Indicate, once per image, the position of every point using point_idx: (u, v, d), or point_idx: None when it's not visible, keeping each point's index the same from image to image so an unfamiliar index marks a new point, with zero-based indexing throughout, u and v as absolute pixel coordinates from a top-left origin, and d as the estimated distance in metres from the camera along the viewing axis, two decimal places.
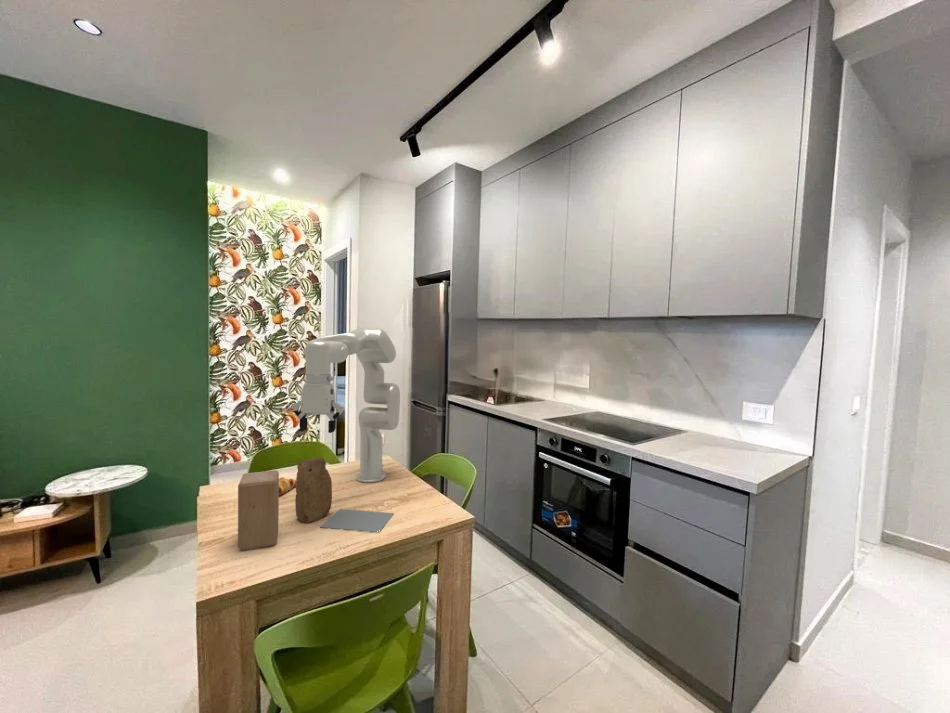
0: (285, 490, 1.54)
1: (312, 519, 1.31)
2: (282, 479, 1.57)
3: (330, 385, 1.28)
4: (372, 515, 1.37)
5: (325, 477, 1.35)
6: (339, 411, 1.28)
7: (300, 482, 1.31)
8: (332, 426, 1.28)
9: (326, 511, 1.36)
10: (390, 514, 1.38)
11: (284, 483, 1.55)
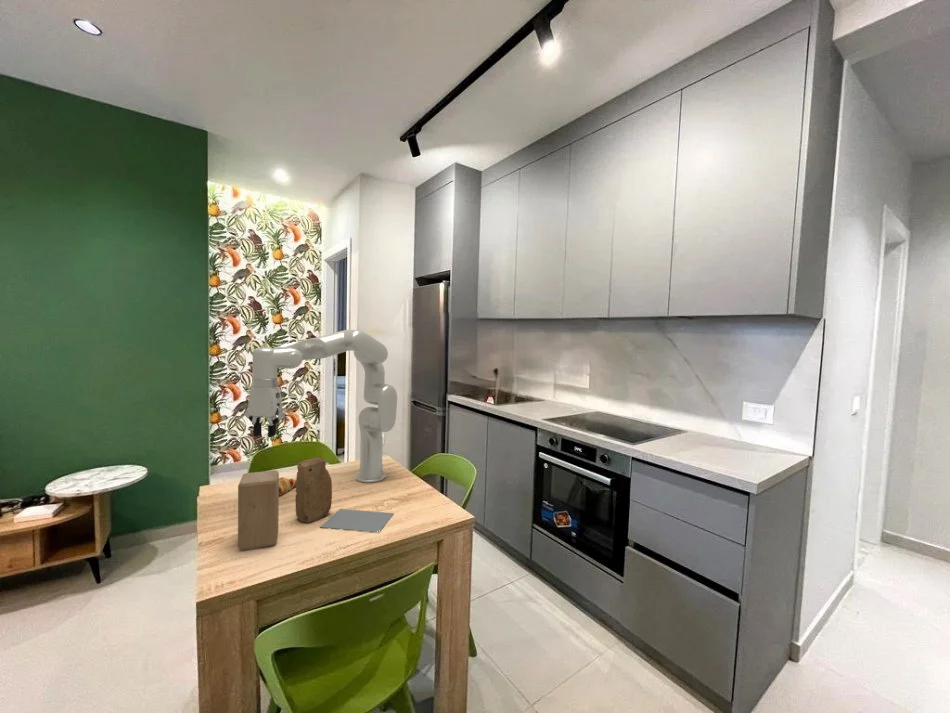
0: (285, 490, 1.54)
1: (312, 519, 1.31)
2: (282, 479, 1.57)
3: (276, 389, 1.35)
4: (372, 515, 1.37)
5: (325, 477, 1.35)
6: (279, 418, 1.35)
7: (300, 482, 1.31)
8: (272, 431, 1.36)
9: (326, 511, 1.36)
10: (390, 514, 1.38)
11: (284, 483, 1.55)
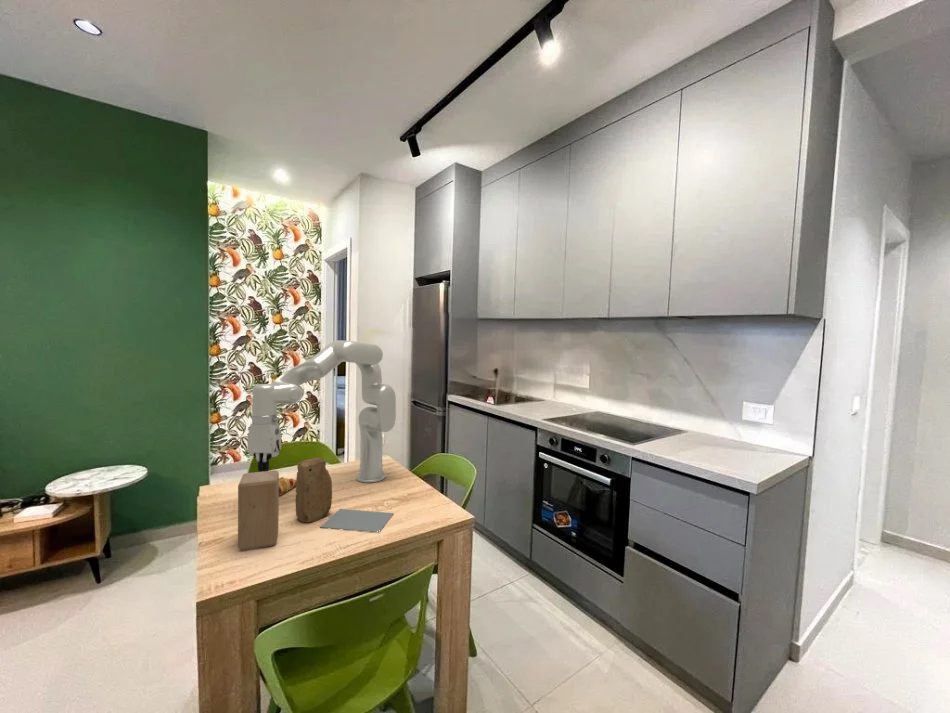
0: (285, 490, 1.55)
1: (312, 519, 1.31)
2: (282, 479, 1.57)
3: (275, 425, 1.36)
4: (372, 515, 1.37)
5: (325, 477, 1.35)
6: (272, 455, 1.36)
7: (300, 482, 1.31)
8: (264, 467, 1.36)
9: (326, 511, 1.36)
10: (390, 514, 1.38)
11: (284, 483, 1.55)
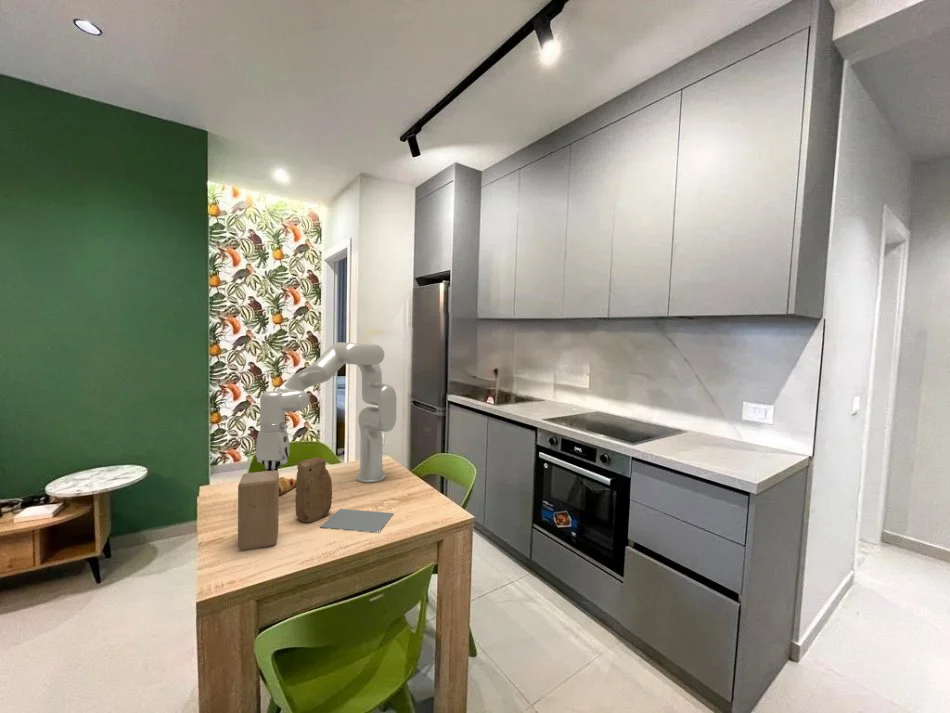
0: (285, 490, 1.55)
1: (312, 519, 1.31)
2: (282, 479, 1.57)
3: (283, 433, 1.36)
4: (372, 515, 1.37)
5: (325, 477, 1.35)
6: (281, 463, 1.36)
7: (300, 482, 1.31)
8: None
9: (326, 511, 1.36)
10: (390, 514, 1.38)
11: (284, 483, 1.55)
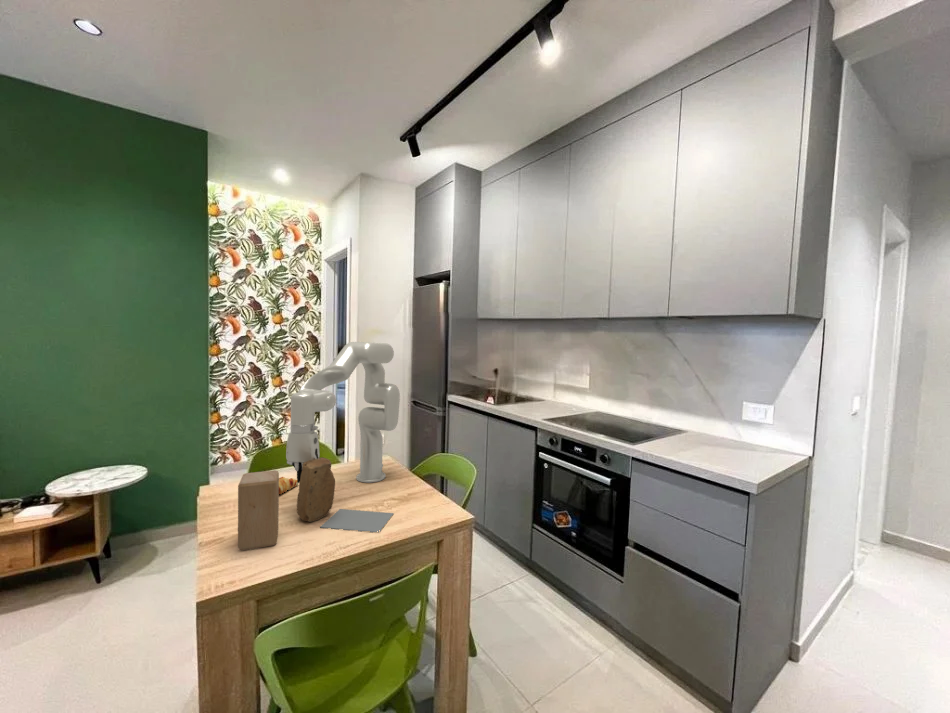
0: (284, 490, 1.55)
1: (312, 519, 1.31)
2: (282, 479, 1.57)
3: (314, 434, 1.34)
4: (372, 515, 1.37)
5: (329, 479, 1.33)
6: None
7: (304, 482, 1.30)
8: None
9: (327, 511, 1.36)
10: (390, 514, 1.38)
11: (283, 483, 1.55)
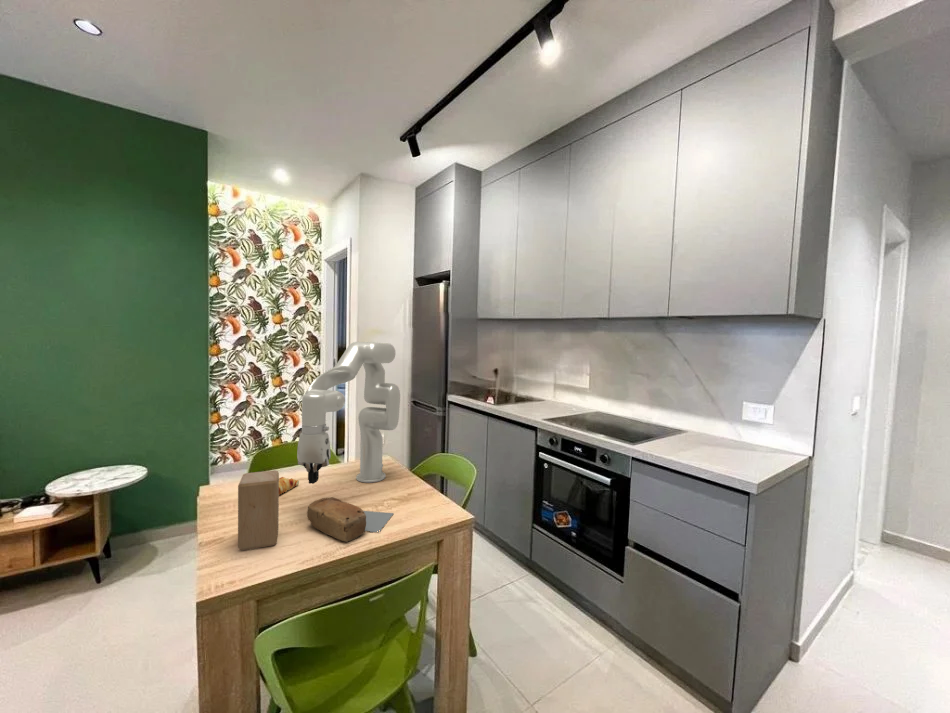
0: (284, 490, 1.55)
1: None
2: (282, 479, 1.58)
3: (325, 435, 1.34)
4: (372, 515, 1.37)
5: None
6: (323, 465, 1.34)
7: (331, 529, 1.21)
8: (315, 477, 1.34)
9: None
10: (390, 514, 1.38)
11: (283, 483, 1.56)
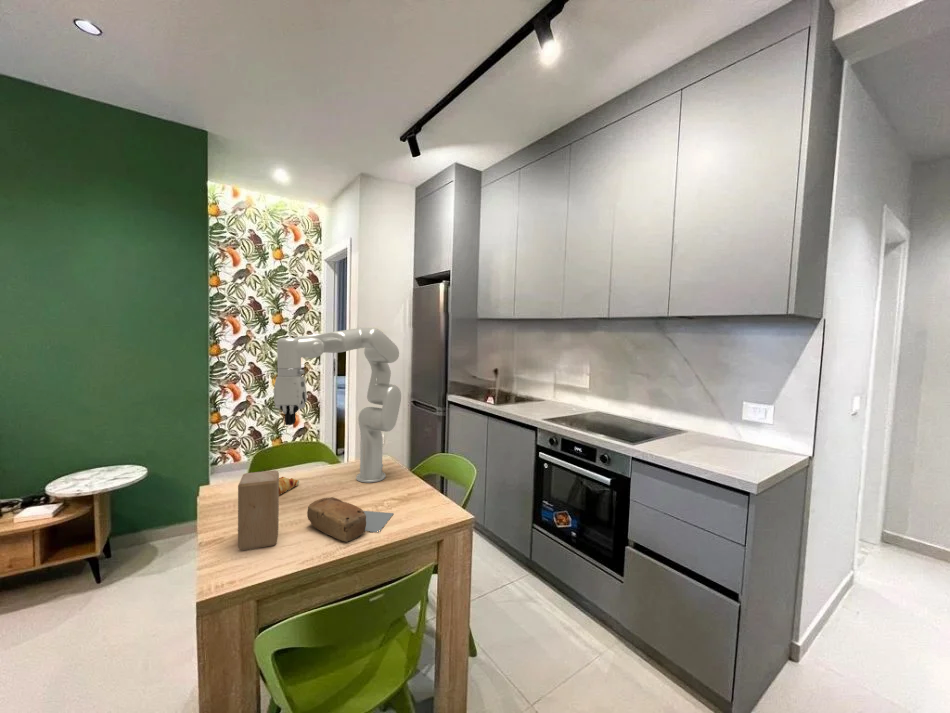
0: (284, 490, 1.55)
1: None
2: (282, 478, 1.58)
3: (301, 378, 1.38)
4: (372, 515, 1.37)
5: None
6: (299, 407, 1.39)
7: (331, 529, 1.21)
8: (292, 419, 1.39)
9: None
10: (390, 514, 1.38)
11: (283, 482, 1.56)
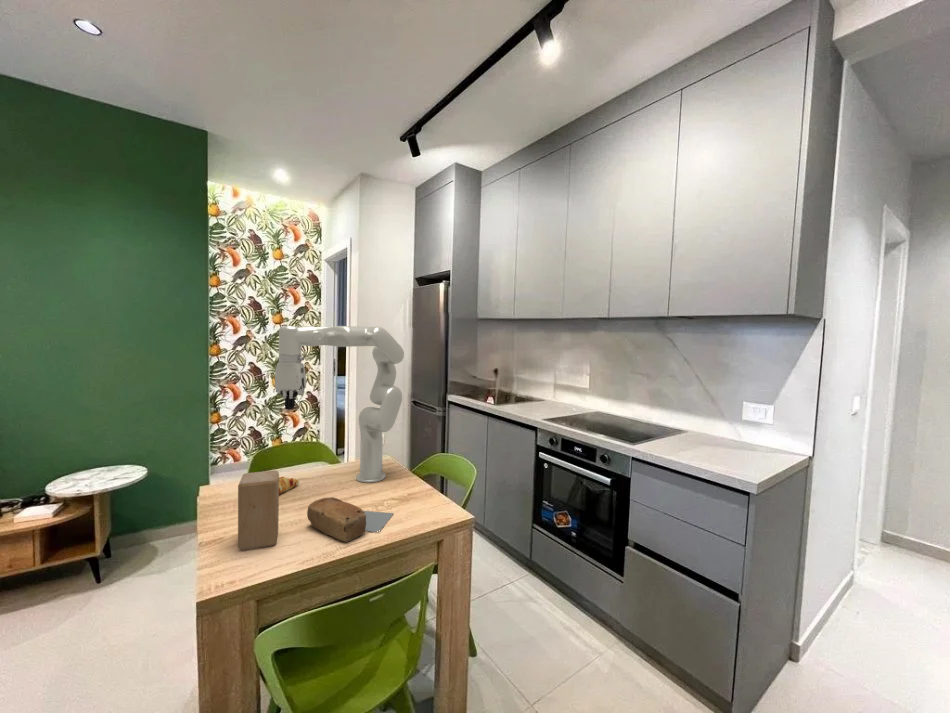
0: (284, 489, 1.55)
1: None
2: (282, 478, 1.58)
3: (300, 364, 1.45)
4: (372, 515, 1.37)
5: None
6: (298, 392, 1.45)
7: (331, 529, 1.21)
8: (291, 403, 1.45)
9: None
10: (390, 514, 1.38)
11: (283, 482, 1.56)
